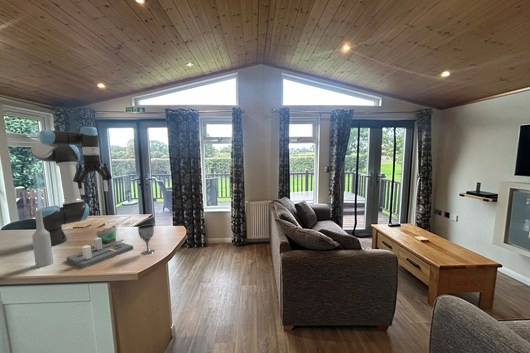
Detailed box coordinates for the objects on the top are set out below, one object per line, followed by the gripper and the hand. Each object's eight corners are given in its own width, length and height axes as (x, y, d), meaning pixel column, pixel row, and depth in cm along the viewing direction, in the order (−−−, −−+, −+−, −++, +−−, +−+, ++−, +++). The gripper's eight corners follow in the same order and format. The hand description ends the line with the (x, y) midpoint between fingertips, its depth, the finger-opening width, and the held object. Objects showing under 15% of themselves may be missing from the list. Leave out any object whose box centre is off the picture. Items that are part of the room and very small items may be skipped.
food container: (106, 248, 139) (104, 231, 138) (97, 247, 140) (96, 231, 139) (122, 240, 151) (121, 225, 150) (114, 240, 152) (113, 225, 151)
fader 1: (83, 258, 119) (81, 246, 119) (88, 256, 122) (87, 245, 121) (86, 259, 118) (85, 248, 117) (92, 257, 120) (90, 246, 119)
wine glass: (143, 249, 135) (141, 224, 133) (157, 248, 135) (156, 223, 134) (137, 255, 127) (135, 229, 125) (152, 254, 127) (150, 228, 126)
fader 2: (94, 249, 131) (93, 238, 131) (99, 247, 133) (98, 237, 133) (97, 250, 129) (96, 239, 129) (102, 248, 132) (101, 238, 131)
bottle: (43, 267, 116) (36, 212, 113) (32, 267, 117) (25, 212, 114) (56, 261, 122) (50, 209, 119) (46, 261, 123) (40, 209, 120)
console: (66, 260, 123) (65, 253, 122) (115, 244, 144) (115, 237, 144) (84, 268, 114) (83, 259, 114) (133, 249, 136) (132, 242, 135)
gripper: (68, 154, 119) (73, 196, 121) (116, 154, 140) (119, 190, 142) (62, 155, 123) (66, 195, 125) (109, 154, 144) (112, 189, 146)
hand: (94, 192), depth 134 cm, fingers open, 11 cm apart
